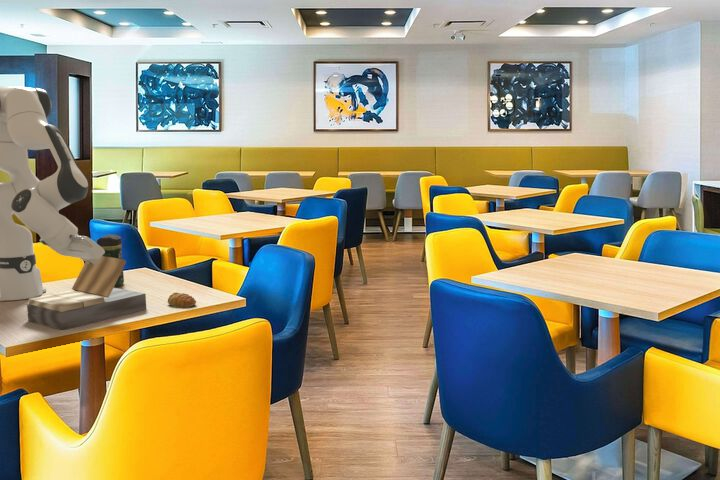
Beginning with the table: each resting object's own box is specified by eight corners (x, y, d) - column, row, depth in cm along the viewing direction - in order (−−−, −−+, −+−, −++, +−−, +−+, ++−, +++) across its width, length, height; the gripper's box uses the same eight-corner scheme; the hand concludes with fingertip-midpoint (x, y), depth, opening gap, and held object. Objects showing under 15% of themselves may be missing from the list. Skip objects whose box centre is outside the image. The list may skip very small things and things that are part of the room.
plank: (75, 291, 214) (71, 288, 213) (93, 256, 218) (89, 254, 217) (108, 297, 204) (104, 295, 203) (126, 261, 208) (122, 259, 207)
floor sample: (28, 320, 203) (26, 299, 202) (111, 302, 225) (110, 282, 224) (62, 330, 192) (60, 306, 191) (146, 309, 214) (145, 288, 214)
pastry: (201, 305, 220) (201, 293, 219) (185, 309, 214) (184, 297, 214) (181, 301, 225) (180, 290, 224) (165, 306, 219) (164, 294, 219)
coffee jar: (119, 288, 247) (115, 236, 244) (96, 288, 246) (93, 237, 244) (127, 282, 256) (123, 232, 253) (105, 283, 256) (101, 233, 253)
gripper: (88, 228, 195) (121, 257, 204) (49, 224, 207) (81, 251, 216) (75, 246, 192) (108, 274, 201) (36, 240, 204) (69, 268, 213)
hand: (94, 262), depth 209 cm, fingers closed
